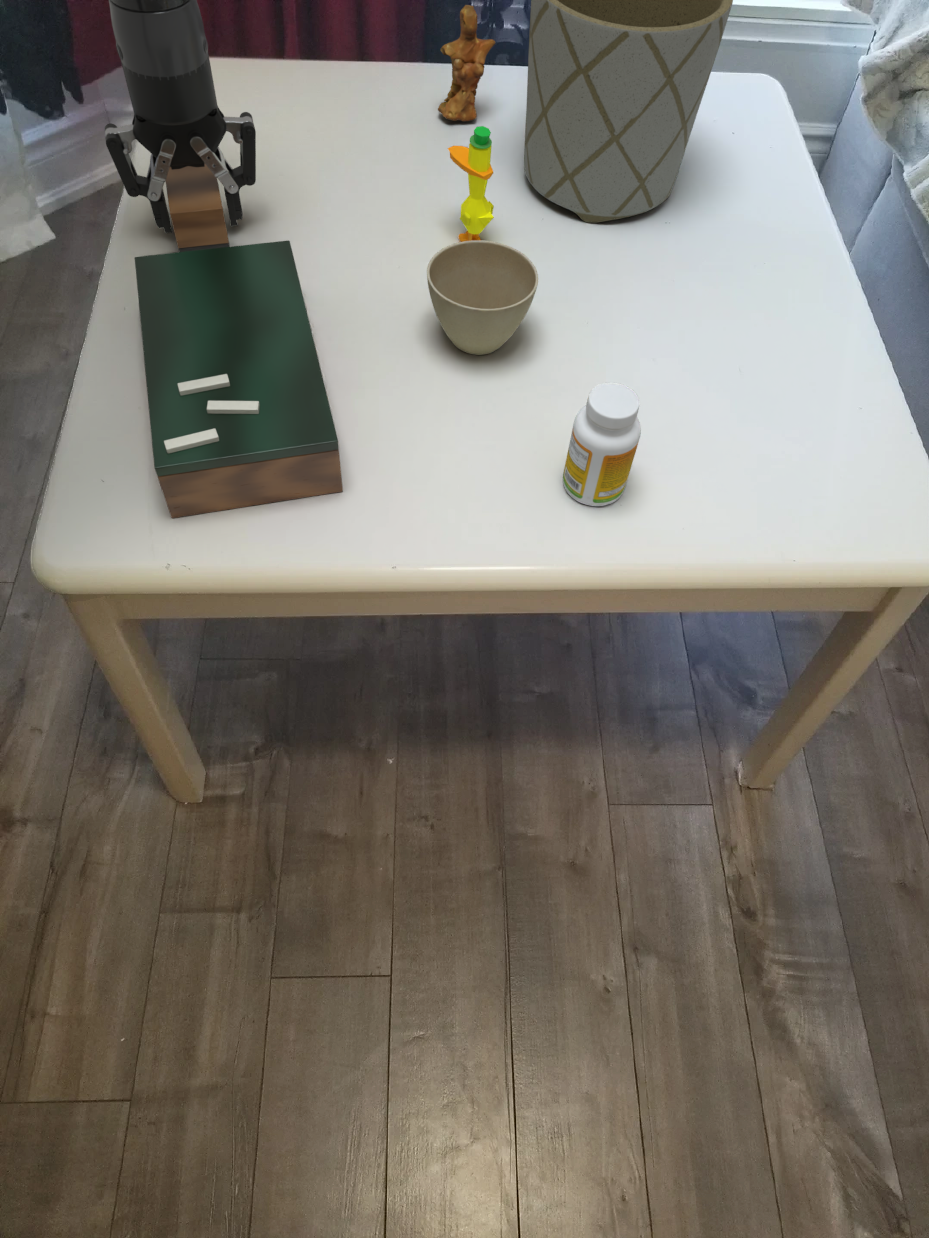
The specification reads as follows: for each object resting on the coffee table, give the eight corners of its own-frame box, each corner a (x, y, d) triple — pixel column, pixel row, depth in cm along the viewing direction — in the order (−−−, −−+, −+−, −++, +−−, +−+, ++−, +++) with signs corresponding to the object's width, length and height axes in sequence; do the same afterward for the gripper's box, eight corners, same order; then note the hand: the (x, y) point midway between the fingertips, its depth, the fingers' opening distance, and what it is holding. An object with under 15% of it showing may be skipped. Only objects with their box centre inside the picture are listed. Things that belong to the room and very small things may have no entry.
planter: (716, 199, 102) (776, 1, 86) (583, 252, 96) (620, 50, 79) (609, 118, 110) (644, -77, 94) (480, 162, 104) (493, -39, 87)
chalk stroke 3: (207, 413, 72) (206, 409, 72) (208, 404, 73) (207, 400, 72) (258, 414, 72) (257, 409, 72) (259, 405, 73) (258, 400, 73)
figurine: (479, 133, 107) (486, 21, 97) (432, 123, 108) (435, 11, 98) (490, 114, 110) (498, 3, 100) (445, 104, 110) (448, -7, 100)
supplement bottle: (630, 470, 79) (656, 386, 71) (616, 515, 76) (640, 432, 68) (571, 453, 80) (589, 368, 72) (554, 497, 77) (571, 413, 69)
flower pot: (510, 385, 84) (517, 322, 78) (409, 355, 86) (409, 291, 80) (542, 319, 90) (552, 256, 84) (447, 293, 91) (450, 228, 85)
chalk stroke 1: (180, 396, 73) (179, 391, 73) (178, 387, 74) (177, 383, 73) (230, 386, 74) (229, 381, 74) (227, 378, 75) (226, 373, 74)
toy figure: (435, 230, 97) (438, 116, 86) (460, 218, 98) (466, 104, 88) (478, 262, 94) (486, 148, 84) (503, 248, 95) (514, 135, 85)
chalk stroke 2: (167, 454, 70) (166, 449, 69) (164, 445, 70) (163, 440, 70) (219, 441, 71) (218, 436, 70) (216, 432, 71) (215, 427, 71)
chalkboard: (171, 518, 74) (154, 468, 69) (150, 311, 87) (134, 256, 82) (342, 491, 76) (338, 441, 71) (296, 294, 90) (289, 239, 85)
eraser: (231, 253, 93) (222, 208, 89) (180, 259, 92) (169, 213, 88) (222, 207, 97) (214, 162, 93) (174, 212, 96) (163, 166, 92)
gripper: (241, 24, 83) (266, 197, 97) (76, 35, 80) (126, 211, 94) (252, 66, 79) (276, 240, 93) (78, 79, 76) (130, 255, 91)
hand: (200, 224), depth 94 cm, fingers open, 6 cm apart
